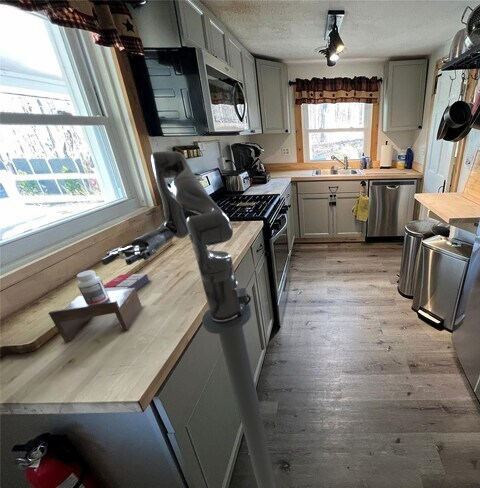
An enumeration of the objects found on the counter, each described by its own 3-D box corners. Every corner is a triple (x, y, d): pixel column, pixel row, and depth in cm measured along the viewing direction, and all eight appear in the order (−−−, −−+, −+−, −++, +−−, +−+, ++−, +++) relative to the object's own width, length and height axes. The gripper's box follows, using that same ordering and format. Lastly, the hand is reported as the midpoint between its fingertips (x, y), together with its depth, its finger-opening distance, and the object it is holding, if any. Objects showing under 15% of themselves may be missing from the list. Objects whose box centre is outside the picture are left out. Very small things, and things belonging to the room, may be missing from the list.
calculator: (147, 272, 104) (120, 291, 90) (149, 281, 106) (124, 302, 92) (119, 273, 104) (88, 293, 90) (123, 283, 106) (93, 303, 92)
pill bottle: (91, 298, 81) (79, 270, 77) (112, 294, 82) (100, 267, 78) (83, 308, 76) (69, 279, 72) (104, 304, 77) (92, 275, 74)
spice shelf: (142, 307, 89) (132, 281, 85) (127, 330, 78) (115, 301, 74) (87, 316, 85) (74, 289, 81) (64, 342, 74) (48, 313, 70)
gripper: (129, 234, 99) (90, 252, 84) (164, 234, 97) (131, 252, 83) (135, 252, 102) (99, 272, 87) (169, 252, 100) (138, 272, 86)
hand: (115, 262), depth 85 cm, fingers open, 8 cm apart
